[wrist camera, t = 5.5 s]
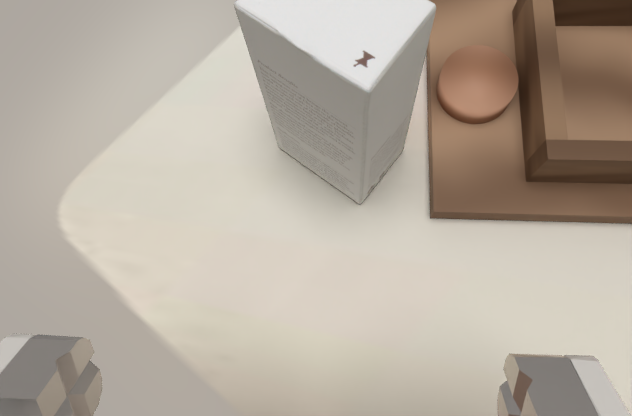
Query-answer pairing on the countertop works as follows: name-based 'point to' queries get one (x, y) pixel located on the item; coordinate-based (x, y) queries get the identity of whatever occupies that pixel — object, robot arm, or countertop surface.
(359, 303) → the countertop surface
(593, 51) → the organiser tray
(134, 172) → the countertop surface
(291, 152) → the skincare box
